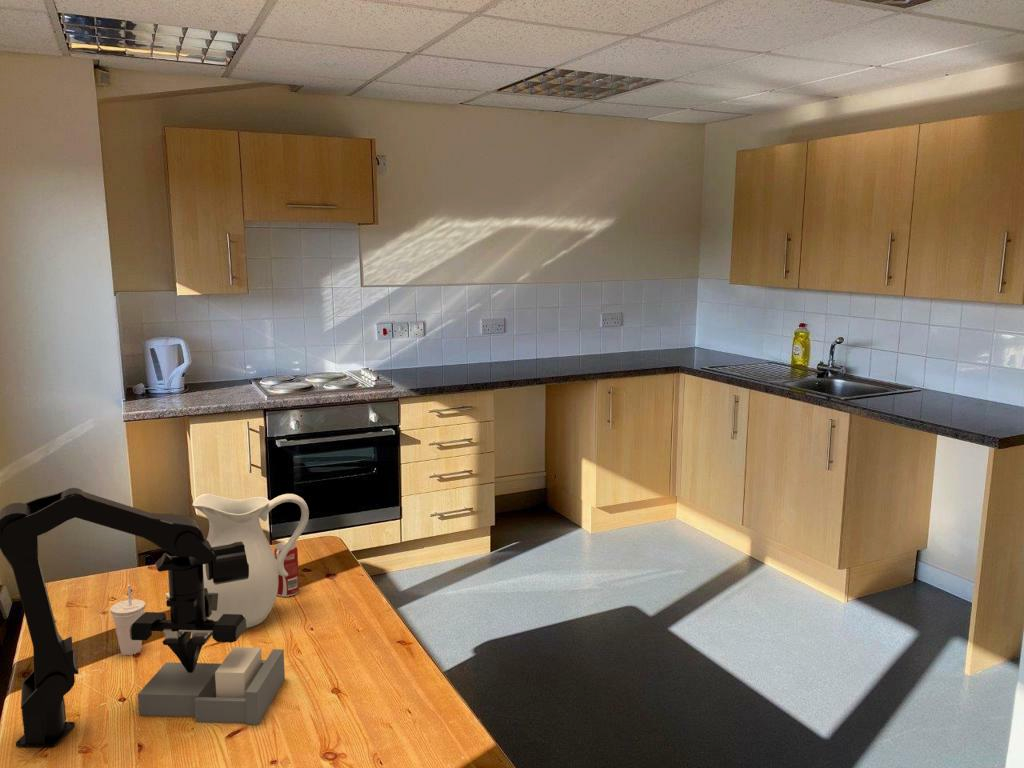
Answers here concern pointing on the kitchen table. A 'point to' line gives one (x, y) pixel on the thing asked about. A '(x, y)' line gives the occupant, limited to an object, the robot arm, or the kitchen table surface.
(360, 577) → the kitchen table surface
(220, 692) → the carton
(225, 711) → the stand
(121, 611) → the smoothie
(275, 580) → the pitcher
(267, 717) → the kitchen table surface
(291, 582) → the soda can
